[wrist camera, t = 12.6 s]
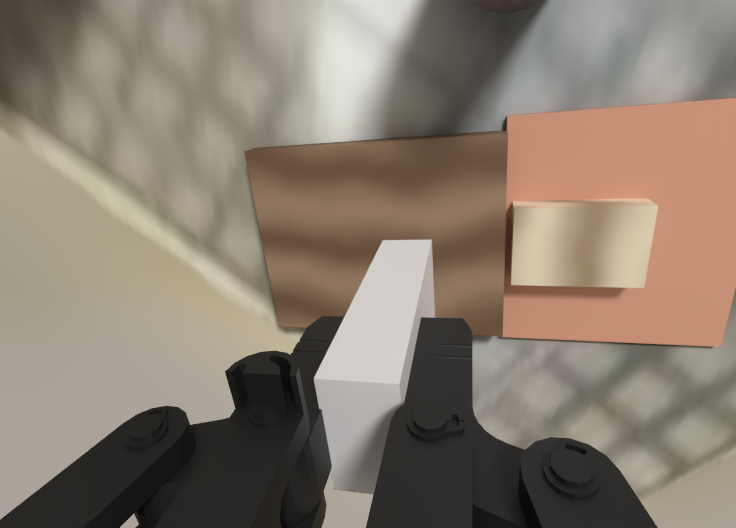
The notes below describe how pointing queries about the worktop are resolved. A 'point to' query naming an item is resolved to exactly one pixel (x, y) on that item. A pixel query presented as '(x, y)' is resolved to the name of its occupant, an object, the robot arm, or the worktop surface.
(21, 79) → the worktop surface
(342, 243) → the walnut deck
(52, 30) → the worktop surface
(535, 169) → the terracotta mat
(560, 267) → the birch tile
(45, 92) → the worktop surface
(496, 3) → the soda can
